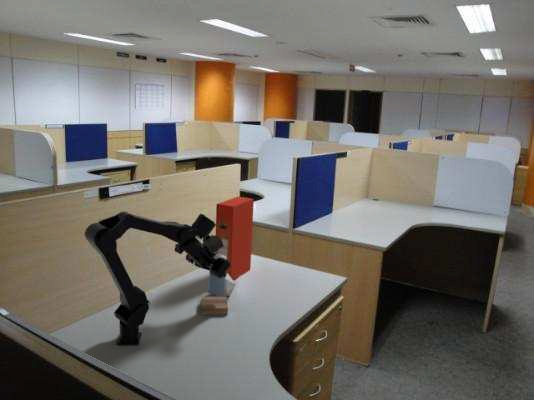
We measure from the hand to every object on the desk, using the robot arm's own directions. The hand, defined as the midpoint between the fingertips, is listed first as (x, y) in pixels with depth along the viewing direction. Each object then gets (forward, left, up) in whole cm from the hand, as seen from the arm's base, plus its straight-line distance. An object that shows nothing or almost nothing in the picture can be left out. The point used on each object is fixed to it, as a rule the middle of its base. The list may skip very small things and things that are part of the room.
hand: (220, 273), depth 156 cm
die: (+11, -1, -14) cm, 17 cm away
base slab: (0, +2, -13) cm, 13 cm away
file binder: (+32, -6, -14) cm, 35 cm away
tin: (-1, +1, -7) cm, 7 cm away
